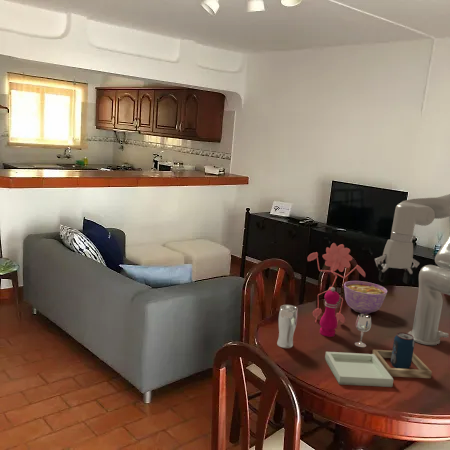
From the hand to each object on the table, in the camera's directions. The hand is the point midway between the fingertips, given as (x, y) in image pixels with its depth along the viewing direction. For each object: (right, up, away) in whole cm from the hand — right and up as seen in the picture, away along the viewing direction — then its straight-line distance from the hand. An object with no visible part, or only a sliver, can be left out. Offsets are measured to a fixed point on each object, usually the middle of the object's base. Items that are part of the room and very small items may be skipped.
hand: (393, 282), depth 180 cm
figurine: (-17, -21, +33) cm, 43 cm away
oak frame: (0, -30, -6) cm, 30 cm away
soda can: (0, -30, -6) cm, 31 cm away
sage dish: (-17, -30, -13) cm, 37 cm away
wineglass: (-10, -26, +10) cm, 30 cm away
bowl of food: (+2, -20, +49) cm, 53 cm away
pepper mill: (-21, -24, +18) cm, 36 cm away
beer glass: (-40, -25, +4) cm, 47 cm away
